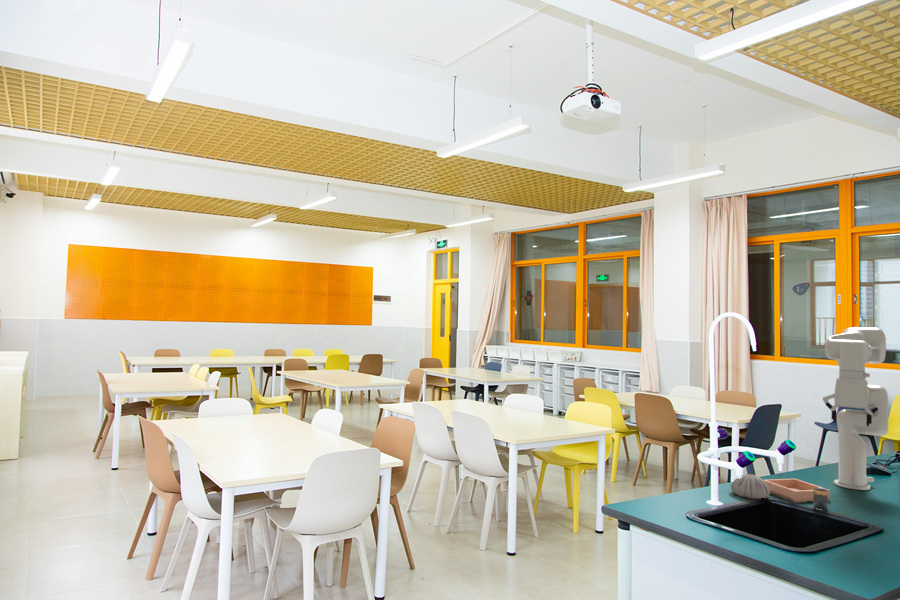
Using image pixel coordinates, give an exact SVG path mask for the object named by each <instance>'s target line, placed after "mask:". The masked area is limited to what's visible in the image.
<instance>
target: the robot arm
mask: <svg viewBox="0 0 900 600" xmlns="http://www.w3.org/2000/svg"><path fill="white" fill-rule="evenodd" d="M886 351H887V337H886V335H885V332H884V330H882V329H881V328H878V327H863V326H861V327H859V326H854V327H852V326H851V327H848V328H845V329H844V330H842V333H840V334H834V335H831V336H829V337H828V338H827V339H826V341H825V346H824V354H825V356H826V357H827V359H829V360H834V361H836V362H837V365H838V367H839V368H838V369H839V372H838V373H839V375H838V377H837V378H836V379H835V386H834V387H835V388H834V393H832V394H829V395H827V396H824V397H822V400H823V402H824V404H825V406H826V407H827V408H828V409H829V410H830V411H831V420H832V421H833V423H836V424H837V425H836V426H837V430H838V431H837V433H838V475H837V476H838V477H837V478H838V479H834V480H833V484H834V485H836V486H838V487H842V488H845V489H850V490H855V491H856V490H858V491H869V490H871V485H870V484H868V483H871V482H875V478H874V477H872V476H867V444H866V442H865V440H863V438H862V437H861V436H860V435H867V436H868V435H869V436H876V437H883V436H885V435H887V433H888V431H889V396H888V392H887V389H886V388H885V387H883V386H881V385H874V384H869V383H868V382H869V381H868V380H866V379H867V378H870V377H871V374H870V373H867V372H866V364H873V365H874V364H875V365H877V364H878V365H879V364H883V362H884V361H885V359H886V353H887V352H886ZM831 399H833V400H834V405H832V404H831V403H830V402H829V400H831ZM839 407H843V408H847V409H841V410H839V411H838V412H837V408H839ZM849 408H851V409H849ZM859 409H863V410H859Z"/></svg>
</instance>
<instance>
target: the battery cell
mask: <svg viewBox="0 0 900 600" xmlns="http://www.w3.org/2000/svg"><path fill="white" fill-rule="evenodd" d="M823 488H824V487H823V486H819V487H818V488H813V502H812V503H813V504H812V508H813V507H815V508H818V509H822V510H829V508H828V507H829V506H828V505H829V501H828V490H829V489H828V490H827V488H825V489H823Z"/></svg>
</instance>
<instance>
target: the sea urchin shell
mask: <svg viewBox="0 0 900 600" xmlns="http://www.w3.org/2000/svg"><path fill="white" fill-rule="evenodd" d="M741 476H742V478H740V479H739V478H738V479H737V477H736V478H735V479H734V480H733V482H731V484H730V487H731V488H730V490H731V491H732V492H733V493H734V494H735V495H737V496H738V497H742V498H746V499H753V500H762V499H761V498H764V499H767V498H768V497H770V494H771V493H770V489H769V487H768V485H767V484H766V483H765V482H764V481H763V480H764V479H763V478H761V477H760V476H757V475H756V474H751V473H747V474H742V475H741Z"/></svg>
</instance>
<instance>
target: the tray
mask: <svg viewBox="0 0 900 600" xmlns="http://www.w3.org/2000/svg"><path fill="white" fill-rule="evenodd" d="M762 480H763V481H764V482H765V483H766V484H767V485H768V487H769V489H770V494H771V495H775V496H777V497H780V498H782V499H786V500H788V501H790V502H792V503H808V502H807V501H813V488H818V487H820V486H819V485H816V484H813V483H810V482H806V481H803V480H801V479H797V478H775V479H773V478H771V479H762ZM822 488H823V489H827V488H824V487H822ZM827 490H828V502H831V489H829V488H828V489H827Z"/></svg>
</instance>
